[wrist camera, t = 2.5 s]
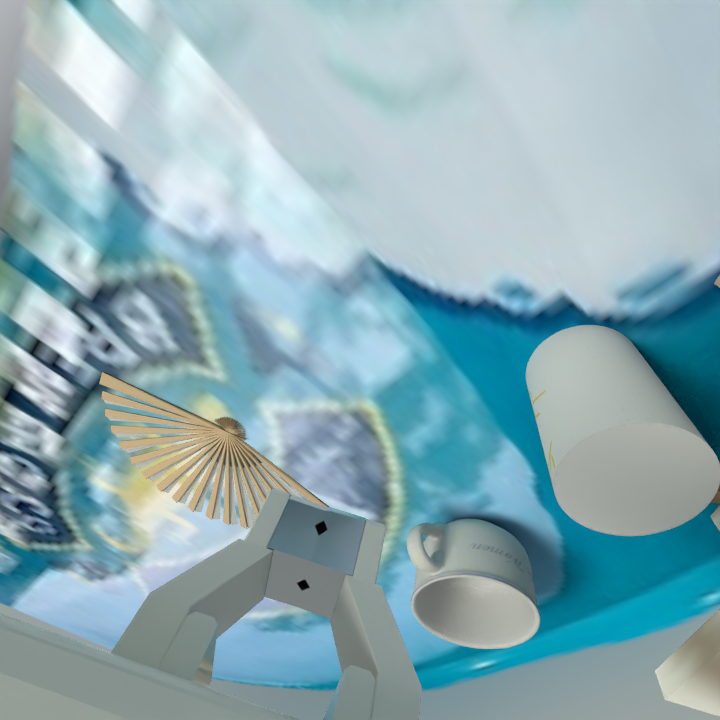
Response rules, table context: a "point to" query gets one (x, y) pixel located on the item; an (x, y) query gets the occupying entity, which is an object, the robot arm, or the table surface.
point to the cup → (616, 436)
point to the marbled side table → (696, 658)
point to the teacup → (473, 584)
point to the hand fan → (198, 456)
